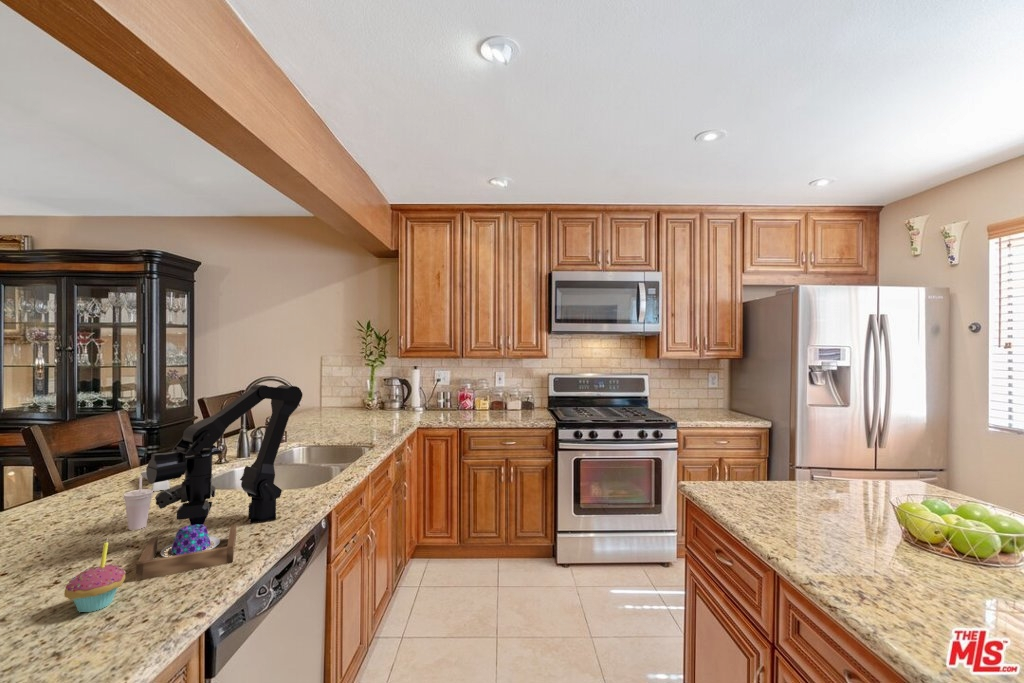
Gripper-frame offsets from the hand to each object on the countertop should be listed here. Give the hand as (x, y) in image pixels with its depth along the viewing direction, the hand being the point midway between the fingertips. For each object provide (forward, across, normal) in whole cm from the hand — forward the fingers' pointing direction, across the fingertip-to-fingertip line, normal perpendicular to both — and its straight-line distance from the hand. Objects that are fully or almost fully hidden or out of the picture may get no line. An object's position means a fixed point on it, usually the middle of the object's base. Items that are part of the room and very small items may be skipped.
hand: (196, 534), depth 113 cm
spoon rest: (+2, -63, -18) cm, 66 cm away
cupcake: (+2, +27, -13) cm, 30 cm away
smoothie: (+2, -16, -15) cm, 22 cm away
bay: (+1, +12, 0) cm, 12 cm away
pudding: (+2, +5, 0) cm, 5 cm away
